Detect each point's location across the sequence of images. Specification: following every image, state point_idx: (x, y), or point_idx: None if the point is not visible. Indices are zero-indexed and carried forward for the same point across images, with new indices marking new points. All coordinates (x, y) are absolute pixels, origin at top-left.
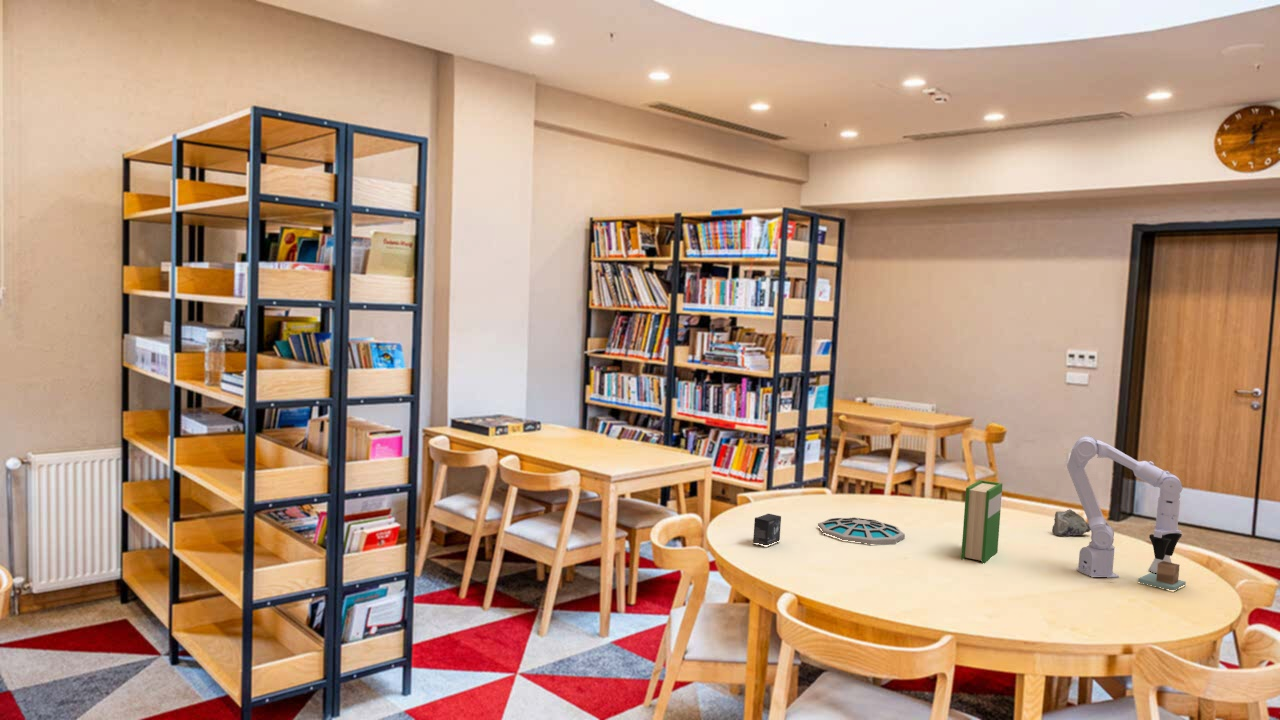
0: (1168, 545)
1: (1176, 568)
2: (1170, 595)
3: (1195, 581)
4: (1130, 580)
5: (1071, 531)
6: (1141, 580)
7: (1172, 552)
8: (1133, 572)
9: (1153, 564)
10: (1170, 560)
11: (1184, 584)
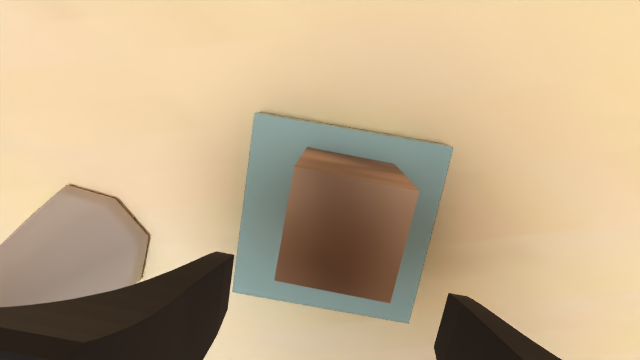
0: (184, 346)
1: (358, 174)
2: (522, 150)
3: (98, 81)
4: (376, 340)
5: None
6: (411, 304)
7: (222, 264)
8: None
9: None
10: (13, 242)
11: (275, 115)
